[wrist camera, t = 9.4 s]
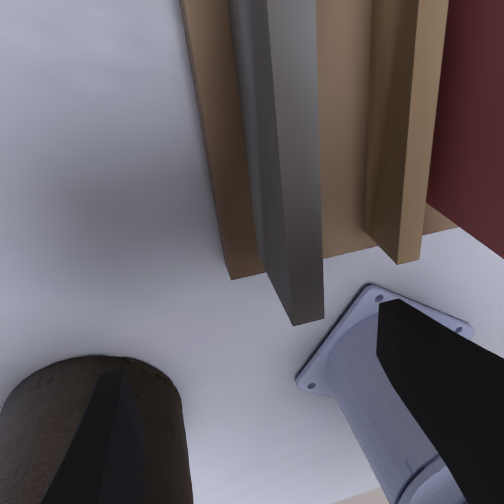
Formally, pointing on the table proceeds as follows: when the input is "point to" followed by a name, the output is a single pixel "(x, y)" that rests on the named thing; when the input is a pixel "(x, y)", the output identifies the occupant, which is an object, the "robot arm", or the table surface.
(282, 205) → the book stand
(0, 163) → the table surface
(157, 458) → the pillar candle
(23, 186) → the table surface
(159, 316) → the table surface
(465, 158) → the book
